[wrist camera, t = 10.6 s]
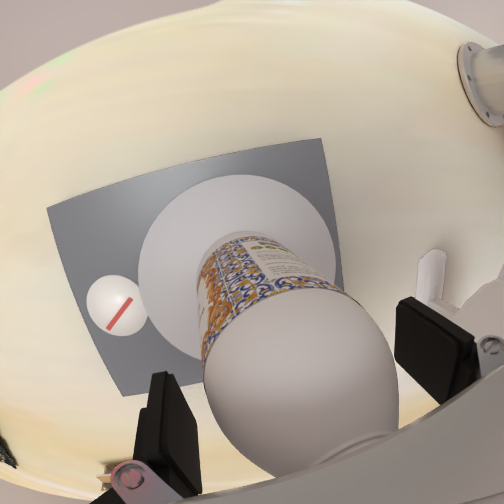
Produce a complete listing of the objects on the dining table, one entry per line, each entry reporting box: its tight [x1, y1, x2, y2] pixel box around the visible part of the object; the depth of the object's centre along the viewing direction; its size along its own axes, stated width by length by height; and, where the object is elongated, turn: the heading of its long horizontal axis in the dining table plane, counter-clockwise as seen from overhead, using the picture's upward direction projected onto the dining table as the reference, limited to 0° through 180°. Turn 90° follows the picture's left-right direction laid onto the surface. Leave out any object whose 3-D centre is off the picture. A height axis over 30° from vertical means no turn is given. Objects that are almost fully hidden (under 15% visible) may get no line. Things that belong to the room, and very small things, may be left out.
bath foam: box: [196, 231, 399, 478], centre depth 12 cm, size 7×7×20 cm
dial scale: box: [47, 138, 344, 397], centre depth 23 cm, size 22×18×4 cm
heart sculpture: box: [415, 249, 504, 343], centre depth 22 cm, size 16×5×18 cm, turn 6°
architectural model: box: [96, 465, 118, 491], centre depth 26 cm, size 3×7×7 cm, turn 110°
